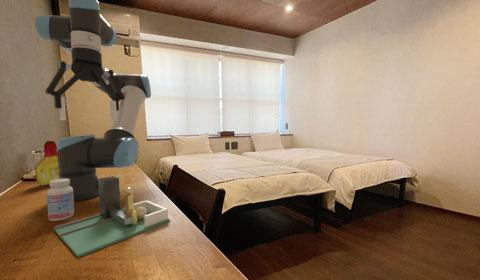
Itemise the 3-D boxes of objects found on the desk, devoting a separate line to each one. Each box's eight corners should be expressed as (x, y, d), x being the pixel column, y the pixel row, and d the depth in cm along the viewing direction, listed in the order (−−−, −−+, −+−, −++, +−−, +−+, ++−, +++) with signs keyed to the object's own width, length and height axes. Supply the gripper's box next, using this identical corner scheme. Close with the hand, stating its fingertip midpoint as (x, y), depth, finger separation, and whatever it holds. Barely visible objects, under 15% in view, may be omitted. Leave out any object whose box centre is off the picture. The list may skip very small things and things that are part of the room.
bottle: (37, 188, 96) (33, 142, 95) (35, 185, 100) (32, 141, 99) (71, 182, 105) (68, 140, 104) (68, 180, 109) (65, 139, 108)
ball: (141, 202, 65) (144, 213, 66) (129, 209, 62) (133, 220, 63) (147, 205, 63) (151, 216, 64) (135, 212, 60) (139, 224, 61)
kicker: (100, 215, 65) (98, 178, 64) (116, 211, 68) (114, 175, 68) (120, 229, 57) (118, 187, 56) (137, 223, 60) (136, 183, 59)
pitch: (54, 230, 58) (54, 226, 58) (137, 206, 75) (137, 203, 75) (77, 257, 46) (77, 252, 46) (169, 221, 63) (169, 217, 63)
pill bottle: (45, 223, 62) (42, 184, 61) (51, 215, 67) (49, 179, 66) (72, 219, 65) (70, 181, 64) (76, 211, 70) (74, 176, 69)
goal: (125, 217, 66) (125, 206, 65) (147, 210, 71) (146, 200, 71) (146, 229, 58) (145, 216, 58) (168, 220, 64) (167, 208, 63)
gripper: (33, 34, 55) (39, 119, 57) (133, 57, 75) (136, 120, 76) (28, 41, 60) (33, 120, 61) (123, 61, 79) (125, 121, 81)
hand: (90, 120), depth 69 cm, fingers open, 13 cm apart
